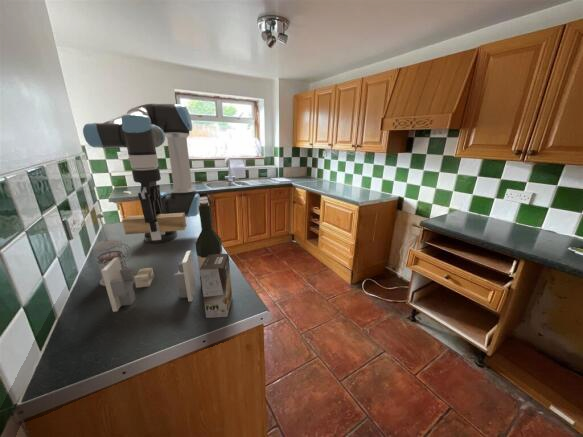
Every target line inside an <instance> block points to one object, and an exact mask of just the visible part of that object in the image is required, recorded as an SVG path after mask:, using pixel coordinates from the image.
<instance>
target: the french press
mask: <svg viewBox="0 0 583 437" xmlns="http://www.w3.org/2000/svg"><path fill="white" fill-rule="evenodd" d="M102 218H104V215H103V214H102V213H98V214H97V215H96V219H100V223H101V227H102V231H103V234H104V238H105V240H101V241H99V242H97V243H96V244H95V245H93V247H92V249H93V250H95V251H98V252H99V251H100V252H102V251H106V252H103V253H100V254H99V255H98V256H97V259H98V260H97V263H98V268H99V271H100V275H101V279H100V281H99V285H101V286H103V287H106V285H105V282H104V278H103V275H102V270H103V269H104V268H105V267H106V266H107V265H108V264H109V263H110V262H111V261H112V260H113V259H114V258H116V257H119V260H120V264H121V268H122V269H124V268H128V267H127V262H128V260H129V259H130V257H131V248H130V246H129V245H128V244H126V243H122V241H121V240H119V239H116V238H110V239H109V238H108V239H107V237H106V233H105V229H104V225H103V220H102ZM122 246H124V247H125V249H126V255H124V254H123V252H122V251H121V250H112V249H115V248H122ZM110 250H111V251H110ZM128 250H129V252H128ZM128 253H129V255H128ZM127 257H128V258H127Z"/></svg>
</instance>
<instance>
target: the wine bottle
mask: <svg viewBox="0 0 583 437" xmlns="http://www.w3.org/2000/svg"><path fill="white" fill-rule="evenodd" d="M211 212H212V210H211V205H210V203H209V202H208V201H200V205H199V213H198V214H199V219H200V226H201V231H200V233H199V235H198V237H197V239H196V241H195V243H194V244H195V251H196V258H197V259H196V260H197V265H198V273H199V280H200V287H201V288H202V281H201V273H200V268H201V266H202V264H203V263H204V261H205V259H206V258H207V256H208V255H214V254H224V253H223V244H222V238H221V237H220V235H218V233H217V232H216V231H215V230H214V229H213V222H212V213H211Z"/></svg>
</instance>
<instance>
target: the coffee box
mask: <svg viewBox="0 0 583 437" xmlns="http://www.w3.org/2000/svg"><path fill="white" fill-rule="evenodd" d="M200 273H201V281H202V287H201V288H202V296H203V304H204V311H205V318H206V319H209V318H210V319H212V318H226V317H228V316H229V311H230V308H231V303H232V301H233V290H232V289H233V288H232V280H231V278H232V277H231V267H230V254H229V253H223V254H214V255H208V256H207V258H206V259H205V261H204V263H203V264H202V266H201V268H200ZM201 281H200V282H201Z"/></svg>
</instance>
